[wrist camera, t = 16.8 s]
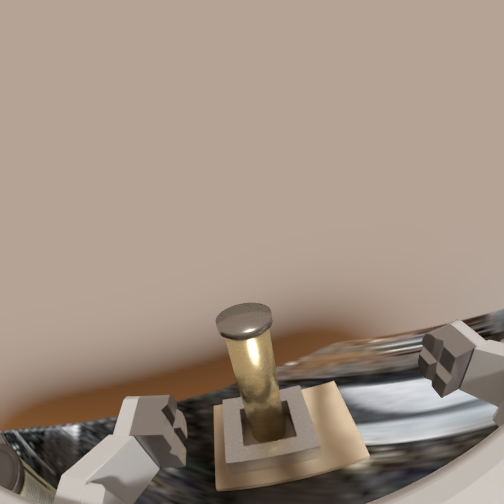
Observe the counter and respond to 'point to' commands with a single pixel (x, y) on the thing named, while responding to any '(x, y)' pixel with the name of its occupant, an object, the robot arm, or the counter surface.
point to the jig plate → (326, 426)
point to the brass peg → (254, 367)
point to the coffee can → (23, 478)
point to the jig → (273, 452)
